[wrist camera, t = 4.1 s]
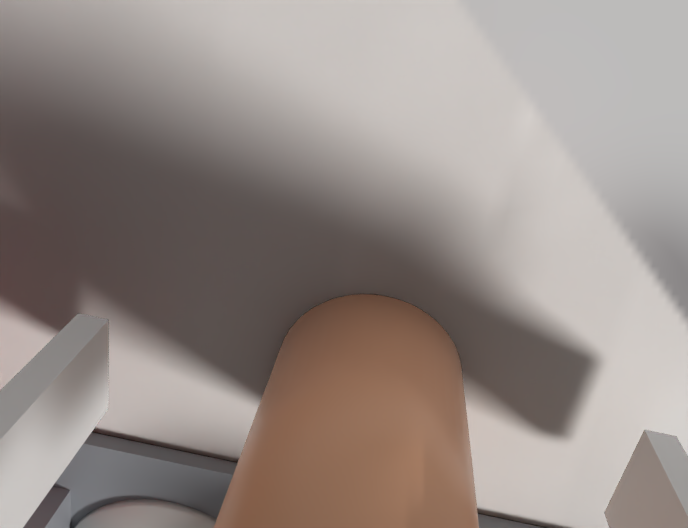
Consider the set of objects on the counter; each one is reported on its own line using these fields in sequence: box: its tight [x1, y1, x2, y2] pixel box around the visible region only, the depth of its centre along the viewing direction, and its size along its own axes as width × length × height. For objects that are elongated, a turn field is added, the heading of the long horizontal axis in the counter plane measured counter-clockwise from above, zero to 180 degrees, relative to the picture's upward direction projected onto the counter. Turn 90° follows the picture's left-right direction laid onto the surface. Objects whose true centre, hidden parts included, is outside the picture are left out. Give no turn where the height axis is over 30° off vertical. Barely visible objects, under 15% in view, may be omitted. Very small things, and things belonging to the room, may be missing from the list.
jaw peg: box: [214, 294, 479, 528], centre depth 13 cm, size 5×5×9 cm
